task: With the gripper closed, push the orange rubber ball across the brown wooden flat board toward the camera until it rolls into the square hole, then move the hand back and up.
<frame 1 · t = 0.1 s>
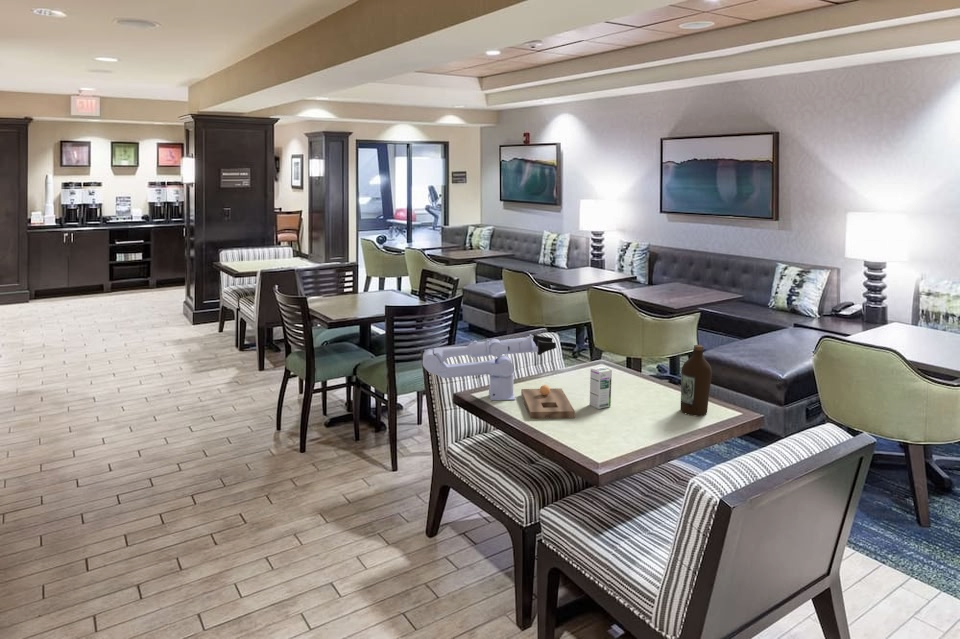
hand: (554, 342, 260), 22 cm above the table, tool horizontal, fingers open, 7 cm apart
brown wooden flat board: (546, 405, 253), on the table
ball: (544, 390, 257), point 4 cm above the table, touching brown wooden flat board
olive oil: (693, 412, 248), on the table
syrup box: (599, 406, 254), on the table
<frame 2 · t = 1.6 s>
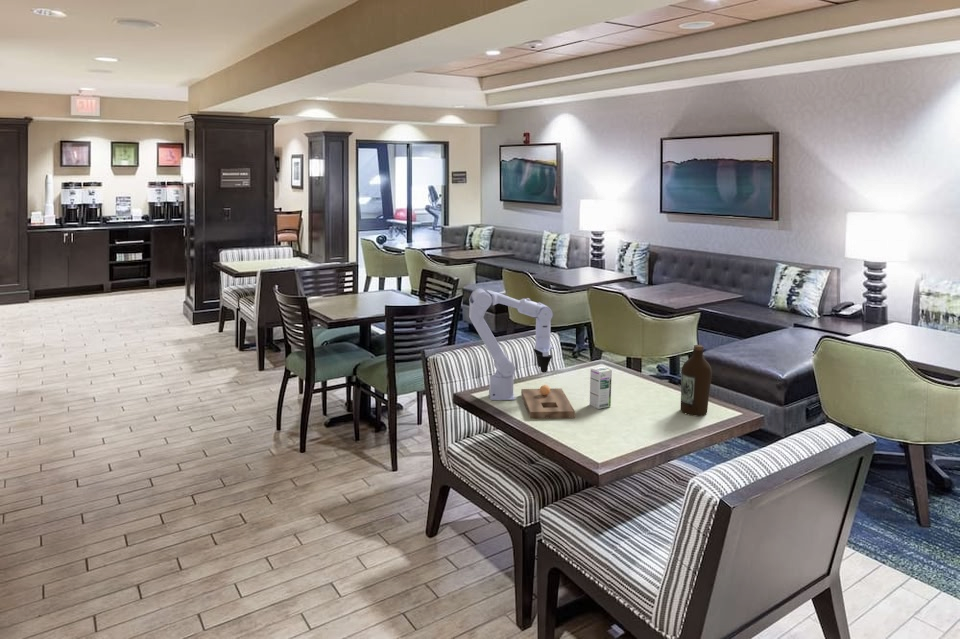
hand: (542, 369, 264), 10 cm above the table, tool pointing down, fingers open, 7 cm apart
nothing on the table moved.
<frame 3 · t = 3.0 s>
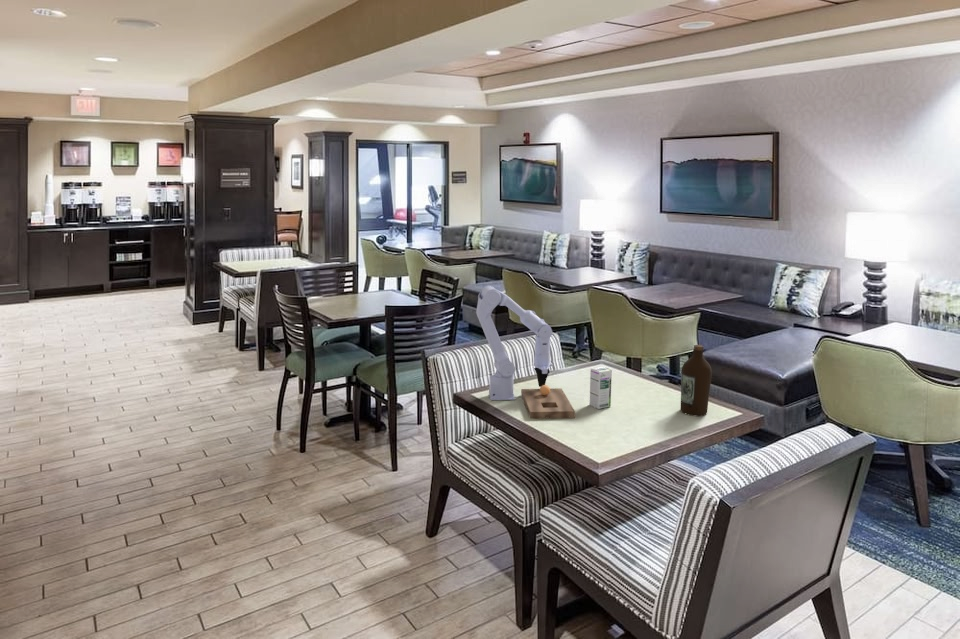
hand: (541, 386, 265), 4 cm above the table, tool pointing down, fingers closed
nothing on the table moved.
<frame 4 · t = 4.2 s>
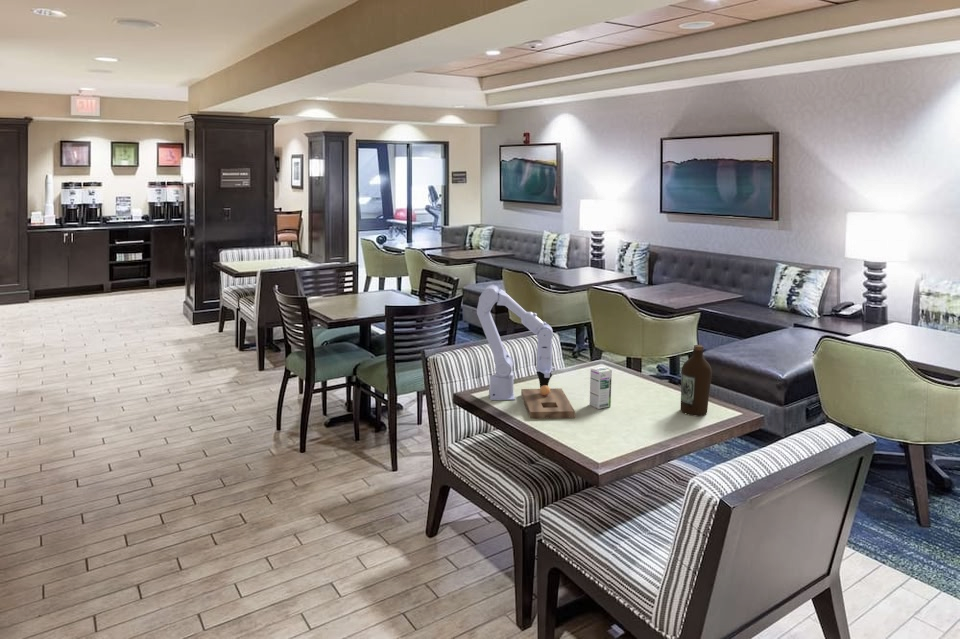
hand: (543, 390, 260), 4 cm above the table, tool pointing down, fingers closed, pressing on ball
ball: (544, 390, 257), point 4 cm above the table, touching brown wooden flat board, gripper
everything else where it was.
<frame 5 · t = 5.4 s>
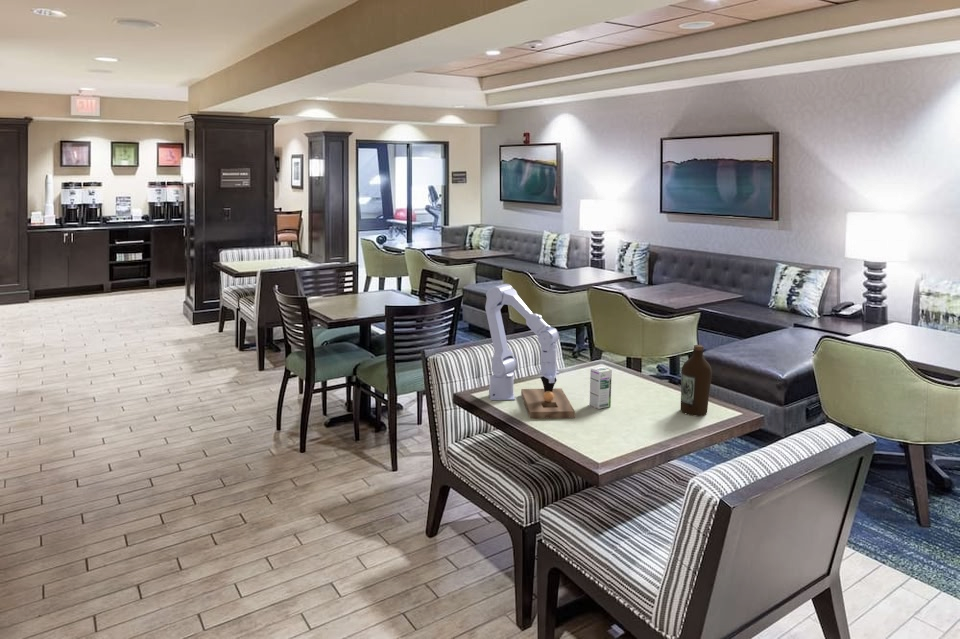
hand: (548, 395, 252), 4 cm above the table, tool pointing down, fingers closed, pressing on ball
ball: (548, 396, 251), point 4 cm above the table, tilted 157°, touching brown wooden flat board, gripper
everything else where it was.
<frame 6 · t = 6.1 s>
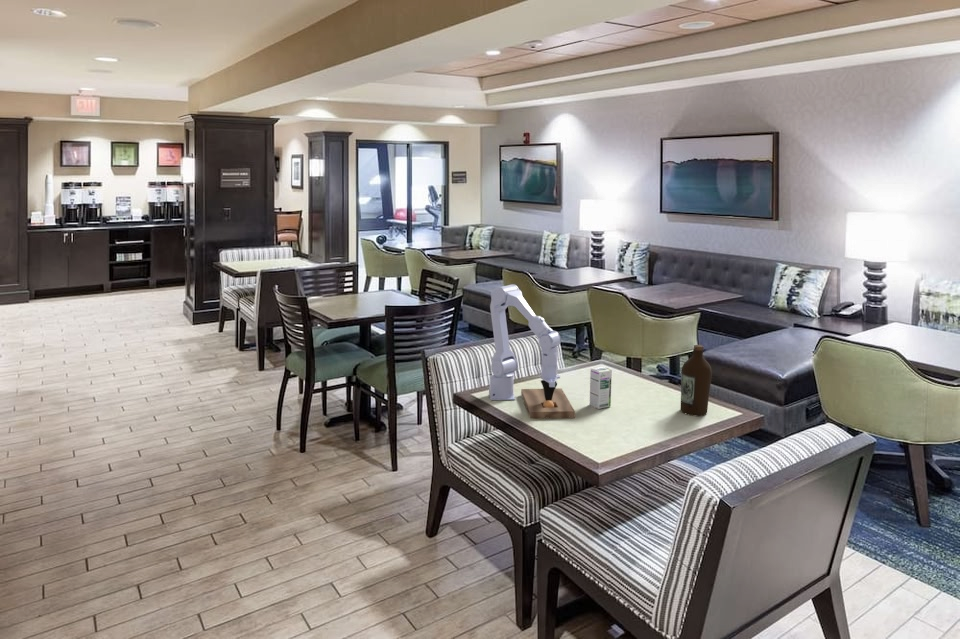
hand: (548, 399, 249), 4 cm above the table, tool pointing down, fingers closed
ball: (548, 405, 248), point 2 cm above the table, tilted 43°, touching gripper
everything else where it was.
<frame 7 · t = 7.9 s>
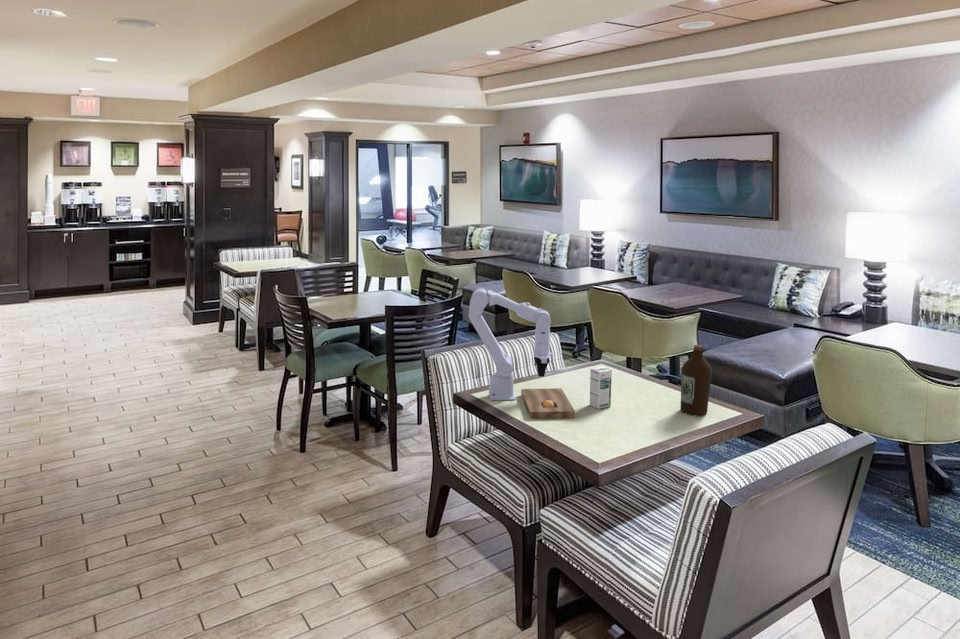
hand: (541, 376, 261), 9 cm above the table, tool pointing down, fingers closed
ball: (548, 405, 248), point 2 cm above the table, tilted 43°
everything else where it was.
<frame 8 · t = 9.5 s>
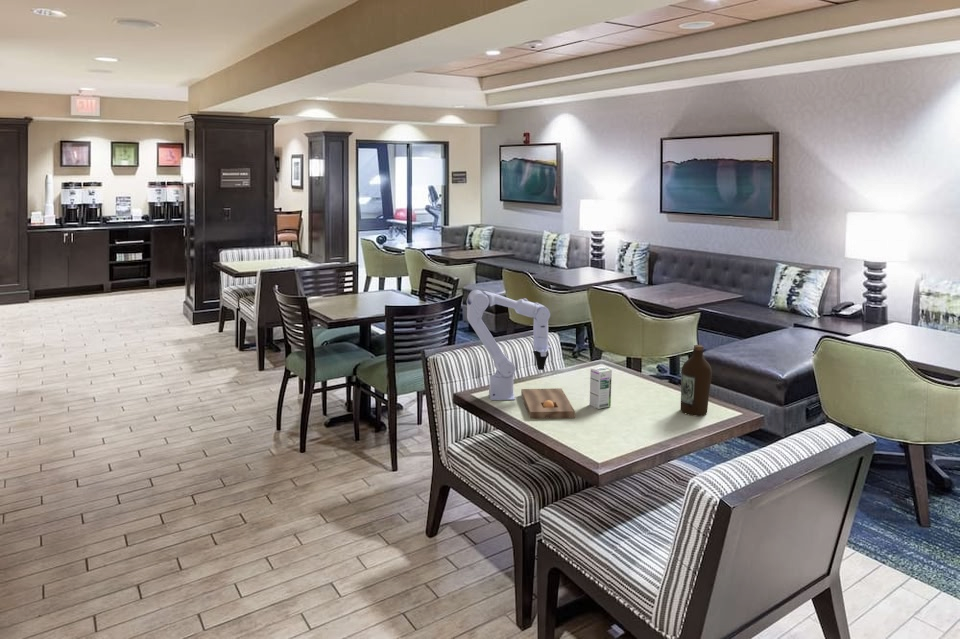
hand: (540, 369, 264), 10 cm above the table, tool pointing down, fingers closed
nothing on the table moved.
at the end: ball 0.7 cm from the target spot on the brown wooden flat board, point 2.0 cm above the brown wooden flat board's base; ball moved 10.7 cm from its start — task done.
